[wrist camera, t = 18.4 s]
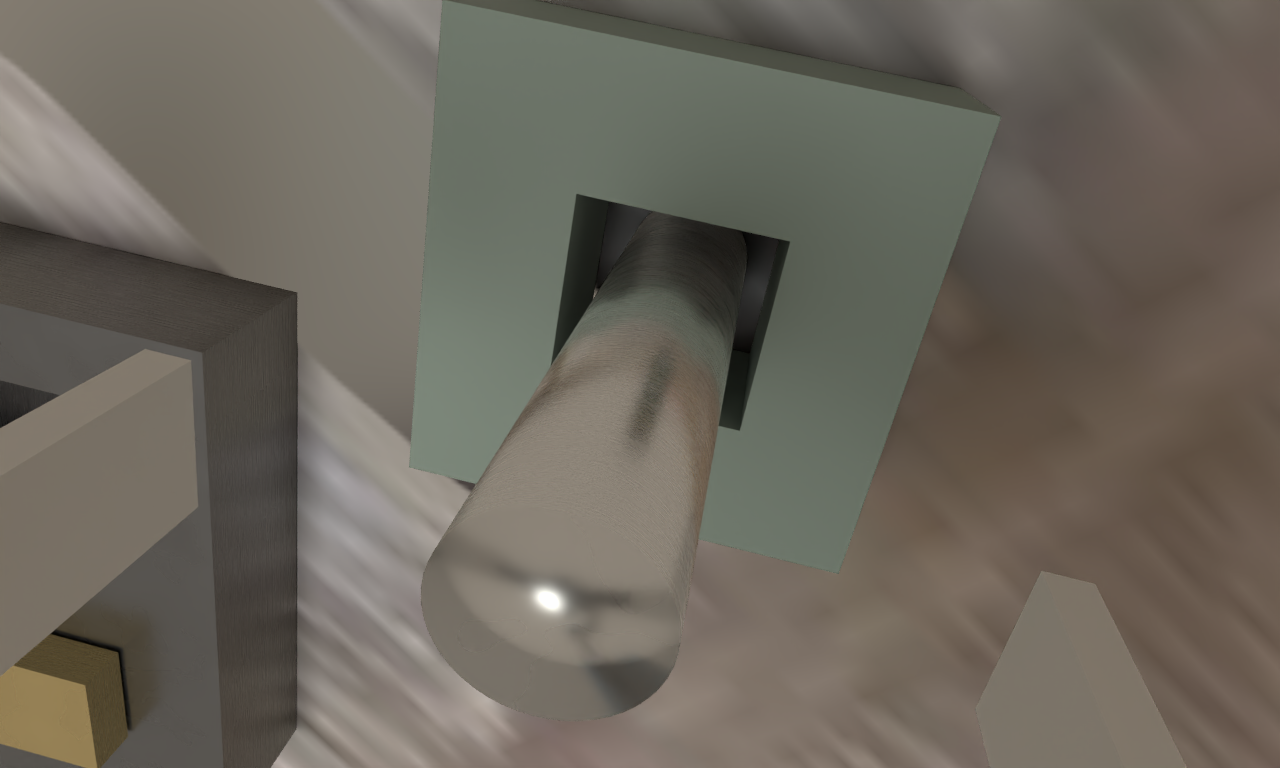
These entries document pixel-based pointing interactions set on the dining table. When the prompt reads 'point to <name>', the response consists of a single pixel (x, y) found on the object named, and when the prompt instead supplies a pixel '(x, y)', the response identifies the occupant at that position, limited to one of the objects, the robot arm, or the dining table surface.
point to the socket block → (226, 485)
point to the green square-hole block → (698, 190)
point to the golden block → (64, 703)
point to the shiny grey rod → (598, 491)
